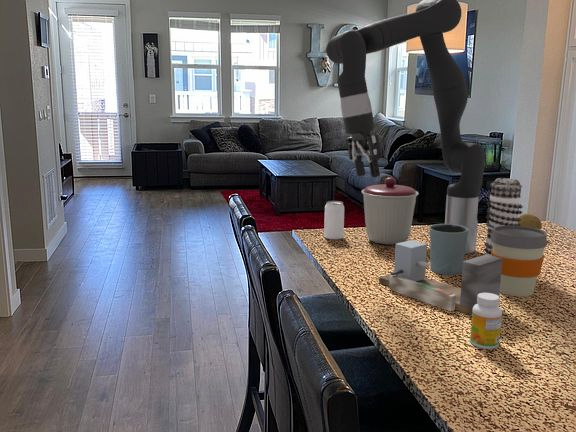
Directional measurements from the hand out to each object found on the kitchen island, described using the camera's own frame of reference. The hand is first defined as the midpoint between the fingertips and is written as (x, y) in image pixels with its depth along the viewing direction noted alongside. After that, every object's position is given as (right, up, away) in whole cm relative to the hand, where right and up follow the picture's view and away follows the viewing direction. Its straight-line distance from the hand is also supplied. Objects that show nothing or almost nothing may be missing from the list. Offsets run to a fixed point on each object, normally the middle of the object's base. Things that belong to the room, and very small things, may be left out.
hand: (368, 176), depth 145 cm
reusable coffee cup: (+35, -29, -6) cm, 46 cm away
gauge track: (+15, -29, -9) cm, 34 cm away
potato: (+60, -18, +46) cm, 78 cm away
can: (-5, -18, +44) cm, 48 cm away
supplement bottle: (+17, -35, -36) cm, 53 cm away
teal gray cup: (+23, -25, +9) cm, 35 cm away
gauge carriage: (+9, -26, -6) cm, 29 cm away
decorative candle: (+38, -25, +11) cm, 47 cm away
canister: (+12, -19, +40) cm, 46 cm away
